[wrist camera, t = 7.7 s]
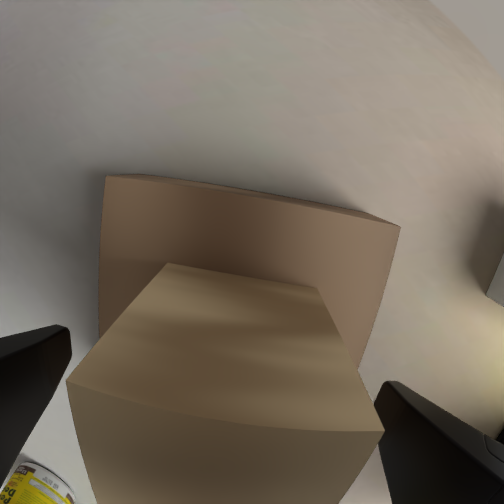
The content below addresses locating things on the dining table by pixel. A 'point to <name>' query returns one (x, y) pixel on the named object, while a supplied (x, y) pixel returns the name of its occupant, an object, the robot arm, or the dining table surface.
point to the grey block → (497, 285)
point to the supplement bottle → (35, 487)
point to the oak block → (222, 397)
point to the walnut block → (243, 245)
